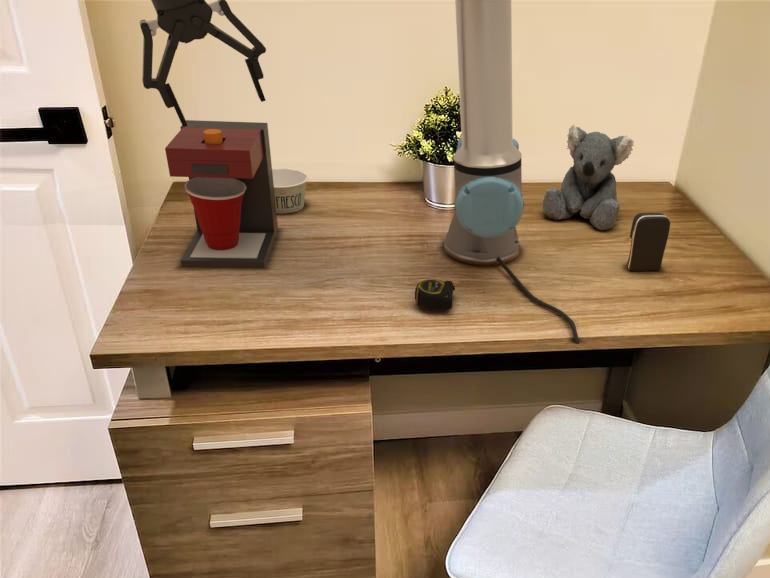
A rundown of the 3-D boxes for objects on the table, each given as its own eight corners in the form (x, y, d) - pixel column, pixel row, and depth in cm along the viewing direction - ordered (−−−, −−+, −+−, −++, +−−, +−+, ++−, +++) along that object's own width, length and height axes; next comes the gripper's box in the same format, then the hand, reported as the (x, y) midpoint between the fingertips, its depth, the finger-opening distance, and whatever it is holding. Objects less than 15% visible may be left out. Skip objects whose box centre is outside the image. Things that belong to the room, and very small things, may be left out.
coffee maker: (264, 268, 137) (251, 152, 125) (181, 267, 136) (160, 149, 124) (278, 229, 152) (267, 122, 140) (203, 228, 151) (186, 120, 139)
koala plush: (537, 218, 165) (546, 131, 155) (561, 194, 180) (571, 112, 169) (612, 234, 160) (627, 145, 150) (630, 208, 174) (645, 125, 164)
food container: (290, 191, 170) (288, 164, 167) (321, 207, 164) (319, 179, 160) (244, 203, 163) (240, 175, 159) (274, 220, 156) (271, 190, 153)
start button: (221, 148, 129) (219, 134, 128) (203, 147, 129) (201, 133, 127) (224, 143, 131) (222, 129, 130) (207, 142, 131) (205, 128, 130)
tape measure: (451, 316, 127) (452, 297, 125) (412, 313, 127) (412, 294, 125) (454, 297, 132) (455, 278, 130) (417, 294, 132) (417, 275, 130)
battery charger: (654, 262, 150) (665, 209, 143) (661, 271, 146) (673, 217, 140) (622, 263, 148) (631, 210, 142) (628, 272, 145) (638, 217, 139)
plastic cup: (240, 259, 136) (232, 197, 130) (184, 253, 137) (173, 191, 130) (261, 236, 145) (255, 177, 139) (208, 230, 146) (199, 171, 139)
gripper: (244, -50, 116) (289, 82, 130) (85, -6, 111) (149, 127, 125) (252, -42, 111) (298, 95, 125) (85, 4, 106) (152, 142, 120)
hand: (223, 111), depth 125 cm, fingers open, 13 cm apart
